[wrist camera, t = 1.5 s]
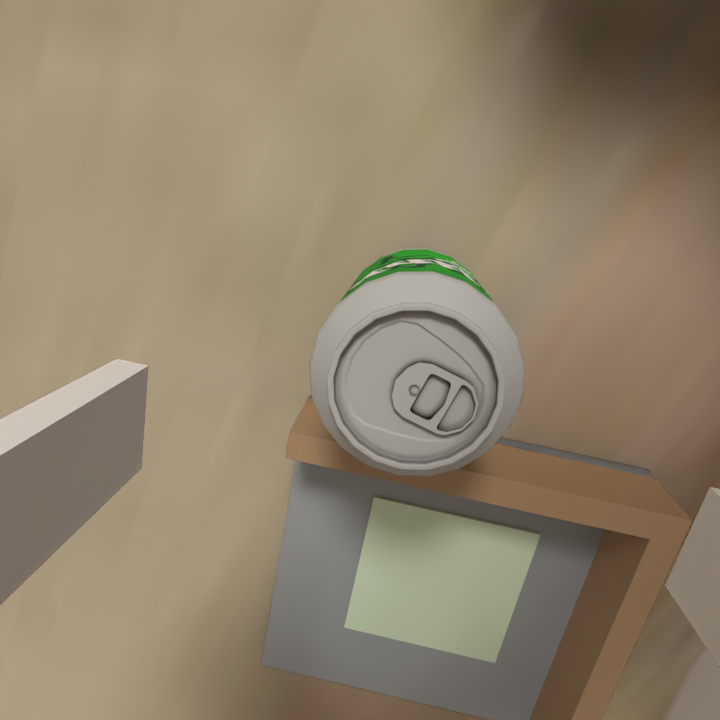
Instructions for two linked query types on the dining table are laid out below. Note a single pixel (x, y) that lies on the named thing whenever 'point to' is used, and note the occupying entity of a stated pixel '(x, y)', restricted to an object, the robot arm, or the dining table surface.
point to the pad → (439, 578)
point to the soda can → (416, 366)
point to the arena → (536, 599)
